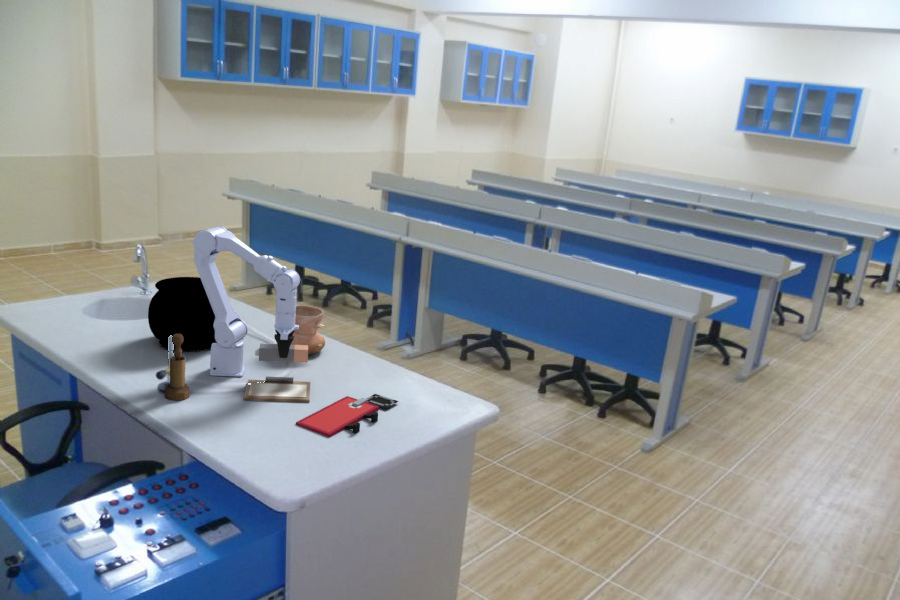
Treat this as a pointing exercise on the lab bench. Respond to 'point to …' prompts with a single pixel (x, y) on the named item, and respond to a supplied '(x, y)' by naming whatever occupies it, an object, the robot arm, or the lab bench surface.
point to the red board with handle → (345, 414)
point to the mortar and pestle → (177, 373)
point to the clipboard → (278, 390)
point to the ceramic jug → (309, 328)
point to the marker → (272, 354)
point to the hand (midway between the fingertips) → (283, 354)
